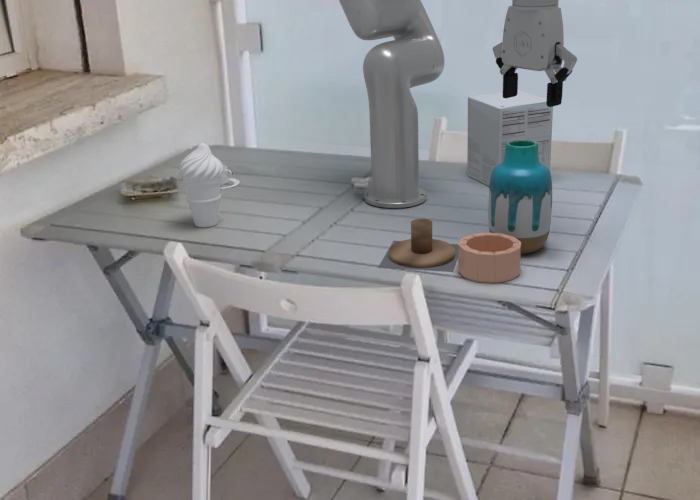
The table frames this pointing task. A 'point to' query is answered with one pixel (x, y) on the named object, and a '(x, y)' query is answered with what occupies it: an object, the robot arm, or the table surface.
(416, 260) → the lid
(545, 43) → the robot arm
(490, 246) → the bowl
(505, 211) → the vase
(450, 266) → the mat
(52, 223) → the table surface
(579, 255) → the table surface
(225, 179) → the teacup and saucer
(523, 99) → the supplement box
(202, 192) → the soft serve ice cream cone
